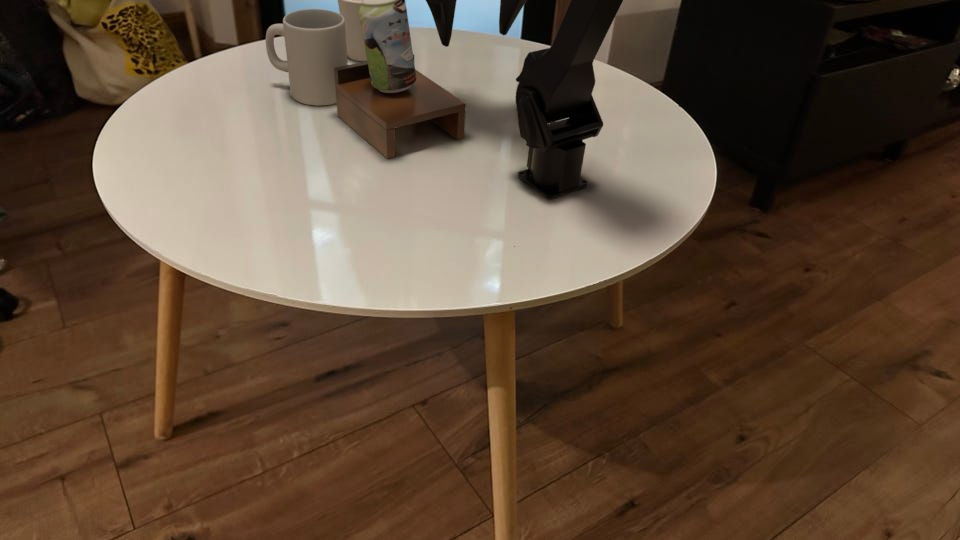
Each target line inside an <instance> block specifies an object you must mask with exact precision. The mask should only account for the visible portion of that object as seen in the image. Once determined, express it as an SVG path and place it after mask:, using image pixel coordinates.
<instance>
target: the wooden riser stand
mask: <svg viewBox="0 0 960 540" xmlns="http://www.w3.org/2000/svg"><path fill="white" fill-rule="evenodd" d="M413 58H414V59H415V54H414V53H413ZM415 72H416V81H415V82H414V83H413V84H412V85H411V87H410V88H408V89H407V90H404V91H401V92H396V93H384V92H381V91H379V90H378V89H376V88H374V87H373V86H372V84H371V79H370V73H369V67H368V62H367V61H360V62H356V63H351V64H348V65H346V66H341V67H336V68H334V74H335V87H336V102H337V103H336V112H337V117H338V118H339V119H341V121H343V122H344V123H345V124H346V125H348V126H349V127H350V128H351V129H352V130H353V131H354V132H356V133H357V134H358V135H359V136H360V137H361V138H363V140H365V141H366V142H367V143H369V145H371V146H372V147H373V148H374V149H375V150H377V151H378V152H379V153H380V154H381V155H382V156H383V157H384V158H386V159H392V158H395V157H396V129H398V128H401V127H406V126H409V125H414V124H417V123H421V122H425V121H429V120H430V121H431V122H433V123H434V124H436V125H437V126H438V127H440V128H441V129H442V130H443V131H445V132H446V133H448V134H449V135H451V136H452V137H453V138H454V139H456V140H460V139H463V138H465V132H466V131H465V130H466V110H467V103H466V102H465V101H463V100H462V99H461V98H459V97H458V96H456V95H454V94H453V93H451V92H449V90H447V89H446V88H445V87H442V86H441V85H439V84H438V83H437V82H435V81H433V80H432V79H431V78H429V77H427V76H426V75H425V74H423V73H421V72H420V71H419V70H417V69H416V68H415Z"/></svg>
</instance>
